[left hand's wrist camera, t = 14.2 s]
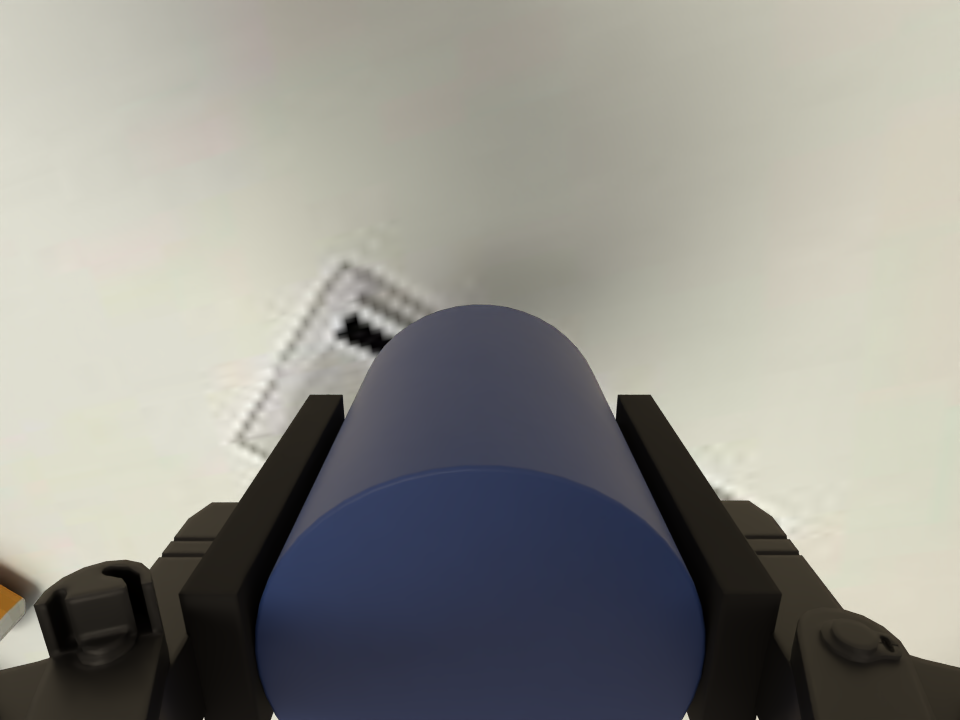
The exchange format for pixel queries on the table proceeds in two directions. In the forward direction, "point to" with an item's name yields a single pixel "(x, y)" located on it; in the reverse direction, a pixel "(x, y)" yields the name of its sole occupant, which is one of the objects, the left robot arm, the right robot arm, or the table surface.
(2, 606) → the spray gun
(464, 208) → the table surface
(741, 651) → the left robot arm
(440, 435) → the can
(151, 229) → the table surface
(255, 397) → the table surface
